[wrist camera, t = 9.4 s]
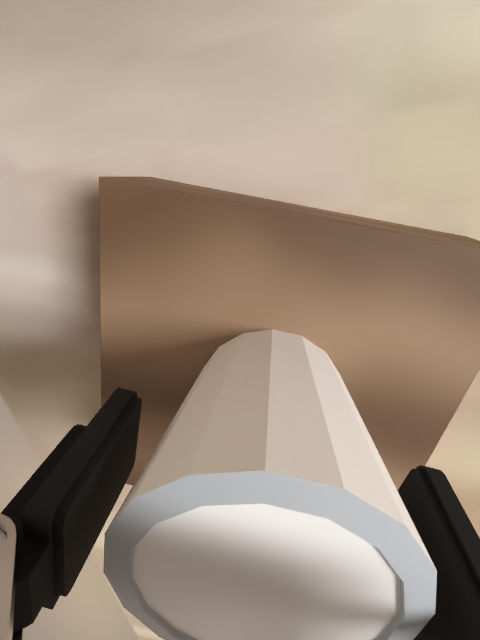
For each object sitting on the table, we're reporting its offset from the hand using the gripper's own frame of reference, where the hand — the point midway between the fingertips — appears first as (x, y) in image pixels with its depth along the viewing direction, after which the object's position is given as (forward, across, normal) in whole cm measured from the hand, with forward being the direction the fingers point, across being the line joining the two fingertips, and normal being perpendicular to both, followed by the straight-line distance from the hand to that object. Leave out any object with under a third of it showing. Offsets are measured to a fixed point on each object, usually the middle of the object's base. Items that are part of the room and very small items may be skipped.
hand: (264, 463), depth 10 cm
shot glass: (+4, 0, 0) cm, 4 cm away
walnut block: (+8, 0, 0) cm, 8 cm away
